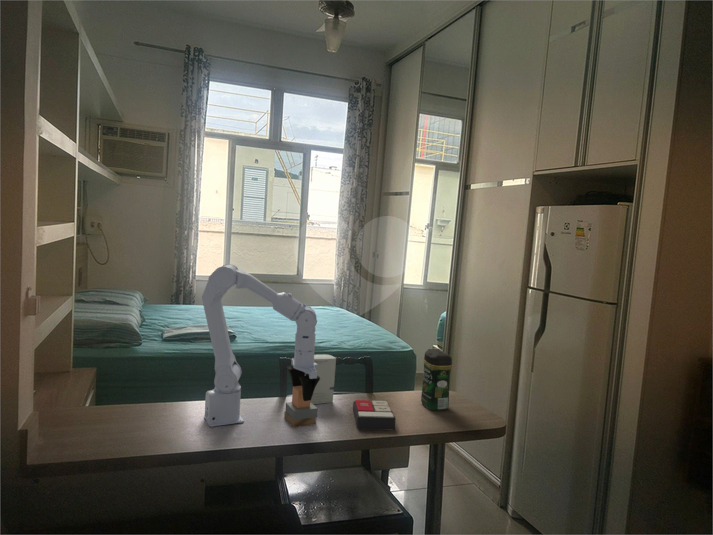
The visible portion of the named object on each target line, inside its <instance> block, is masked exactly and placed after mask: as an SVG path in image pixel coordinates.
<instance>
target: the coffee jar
mask: <svg viewBox="0 0 713 535" xmlns="http://www.w3.org/2000/svg"><path fill="white" fill-rule="evenodd" d="M452 361H453V360H452V356H451V355H449V354H448V353H446V352H444V351H443V350H441V349H438V348H429V349H427V350H426V351H425V352H424V357H423V375H422V376H423V377H422V385H421V386H422V388H421V399H420V402H421V404H422V405H423V406H424V407H425V408H427V409H428V410H430V411H431V410H433V411H437V412H439V411H440V412H441V411H442V412H443V411H445V410H448V408H449V405H450V402H449V400H450V380H451V379H450V378H451V371H452V370H451V369H452V364H453V362H452Z"/></svg>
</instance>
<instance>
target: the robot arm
mask: <svg viewBox="0 0 713 535" xmlns="http://www.w3.org/2000/svg"><path fill="white" fill-rule="evenodd" d="M234 286H235V289H247V290H249V291H251V292H252V293H254V294H256V295H258V296H260V297H261V298H263V299H265V300H267V301H268V302H270V303H271V306H272V309H273V310H274V311H276V312H277V313H279V314H280V315H281V316H283V317H285V318H287V319H288V320H289V321H291V322H295V324H296V332H295V337H294V339H295V340H294V357H292V358H291V360H290V361H291V362H290V363H291V365H292V366H289V367H287V371H288V373H289V376H290V380H291V384H292V385H291V386H292V388H293V387H294V386H302V391H303V400H304V401H309V400H311V399H312V395H313V392H314V389H315V387H316V385H317V383H318V382H319V380H320V377H319V376H317V371H316V370H315V367H317V364H316V363H314V355H315V349H316V333H315V332H316V326H317V324H318V323H317V322H318V320H317V319H318V318H317V314H316V311H315V310H314V309H313V308H312V306H309V305H307V304H306V303H305V302H303V303H302V302H300V301H299V300H297V299H296V298H294V297H293V294H292V293H291V292H288V293H287V292H284V291H283V292H277V291H275V290H274V289H272V288H271V287H270V286H268V285H267V284H265V283H264V282H263V281H261V280H259V279H258V278H256V277H255V276H254V275H252V274H251V273H249V272H247V271H246V270H244V269H243V268H238V266H236V264H235V265H234V264H231V263H226V264H223V265H221V266H219V267H217V268H216V269H215V270H214V271H213V272H212V273H211V274H210V275H209V276H208V280H207V283H206V285H205V288H204V291H203V293H202V296H201V301H202V306H203V311H204V314H205V318H206V324H207V328H208V333H209V337H210V342H211V346H212V350H213V355H214V372H215V376H214V380H213V384H214V388H213V389H211V390H207V391H206V392H205V397H204V398H205V399H204V402H205V403H204V416H203V417H204V420H205V421H206V423H207V425H208V426H209V427H211V428H212V427H219V426H226V425H233V424H239V423H240V424H242V423H244V422H245V420H244V419H243V417H242V416H241V414H240V412H241V411H240V410H241V392H242V386H241V384H240V383H239V379H241V376H242V374H243V372H242V368H241V366H240V364H239V363H238V362H237V358H236V356H235V354H234V352H233V348H232V344H231V340H230V334H229V330H228V325H227V320H226V316H225V312H224V308H223V307H224V306H223V302H222V299H223V298H224V296H225V295H226V293H227V292H228V290H230V289H231V288H232V287H234Z"/></svg>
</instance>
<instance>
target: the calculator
mask: <svg viewBox="0 0 713 535" xmlns="http://www.w3.org/2000/svg"><path fill="white" fill-rule="evenodd" d="M352 411H353V412H352V413H353V415H354V420H355V425H356V430H374V429H385V430H386V429H396V420H397V419H396V416H395V414H394V412H393V410H392V408H391V407H390V404H389V403H388V402H387V401H386V400H368V399H367V400H365V399H355V400H354V401H353V402H352ZM386 431H387V430H386Z"/></svg>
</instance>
